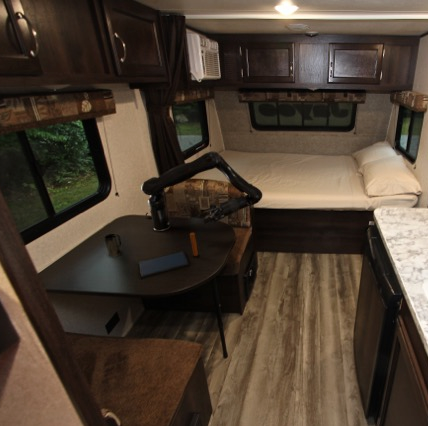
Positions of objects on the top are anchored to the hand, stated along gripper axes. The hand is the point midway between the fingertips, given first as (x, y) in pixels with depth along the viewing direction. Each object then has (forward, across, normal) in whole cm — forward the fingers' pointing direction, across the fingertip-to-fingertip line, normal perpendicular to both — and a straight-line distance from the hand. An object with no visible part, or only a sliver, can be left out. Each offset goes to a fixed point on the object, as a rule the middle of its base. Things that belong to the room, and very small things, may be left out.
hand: (201, 219), depth 153 cm
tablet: (+25, -2, +16) cm, 30 cm away
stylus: (+9, -1, +19) cm, 21 cm away
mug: (+43, -27, +12) cm, 52 cm away
